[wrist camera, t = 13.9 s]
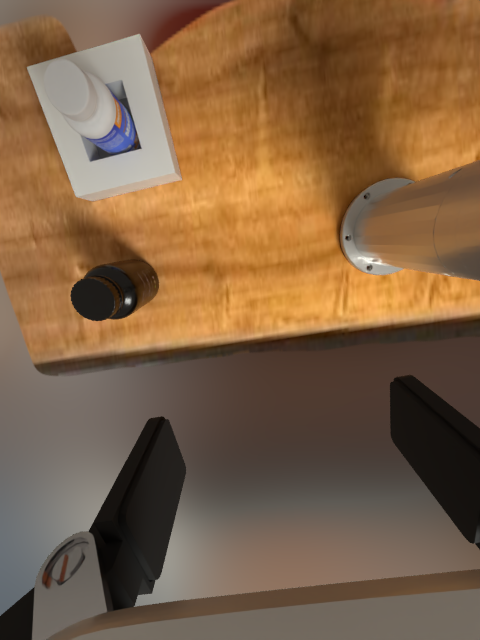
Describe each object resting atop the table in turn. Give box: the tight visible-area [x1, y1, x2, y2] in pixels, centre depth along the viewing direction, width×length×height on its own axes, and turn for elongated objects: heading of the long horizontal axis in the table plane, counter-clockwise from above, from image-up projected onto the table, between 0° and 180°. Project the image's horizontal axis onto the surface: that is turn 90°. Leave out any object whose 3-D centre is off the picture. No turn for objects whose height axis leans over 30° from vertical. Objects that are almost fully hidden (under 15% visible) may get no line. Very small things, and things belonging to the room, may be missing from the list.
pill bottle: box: [44, 59, 140, 156], centre depth 25 cm, size 5×5×10 cm
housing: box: [27, 34, 182, 201], centre depth 29 cm, size 13×13×4 cm
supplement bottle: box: [70, 260, 159, 321], centre depth 31 cm, size 7×7×12 cm
